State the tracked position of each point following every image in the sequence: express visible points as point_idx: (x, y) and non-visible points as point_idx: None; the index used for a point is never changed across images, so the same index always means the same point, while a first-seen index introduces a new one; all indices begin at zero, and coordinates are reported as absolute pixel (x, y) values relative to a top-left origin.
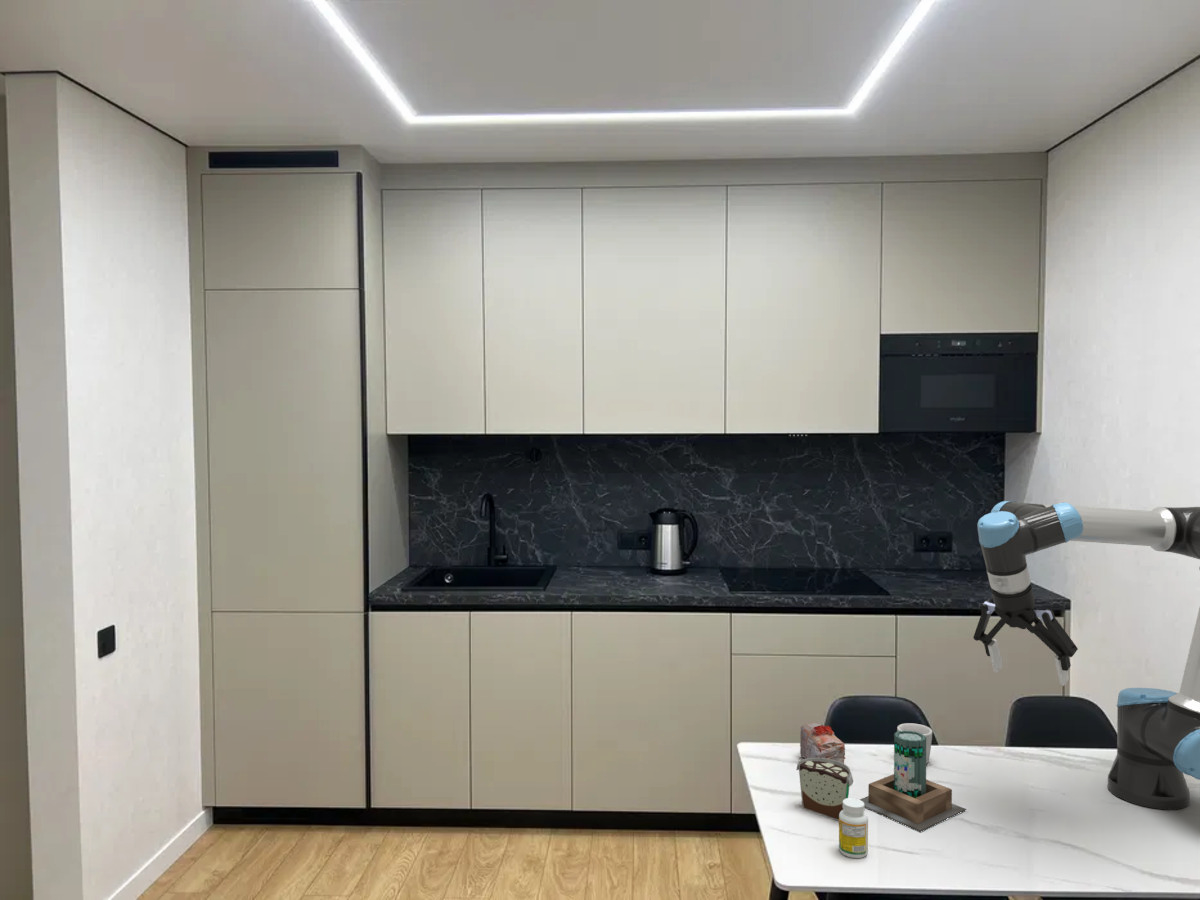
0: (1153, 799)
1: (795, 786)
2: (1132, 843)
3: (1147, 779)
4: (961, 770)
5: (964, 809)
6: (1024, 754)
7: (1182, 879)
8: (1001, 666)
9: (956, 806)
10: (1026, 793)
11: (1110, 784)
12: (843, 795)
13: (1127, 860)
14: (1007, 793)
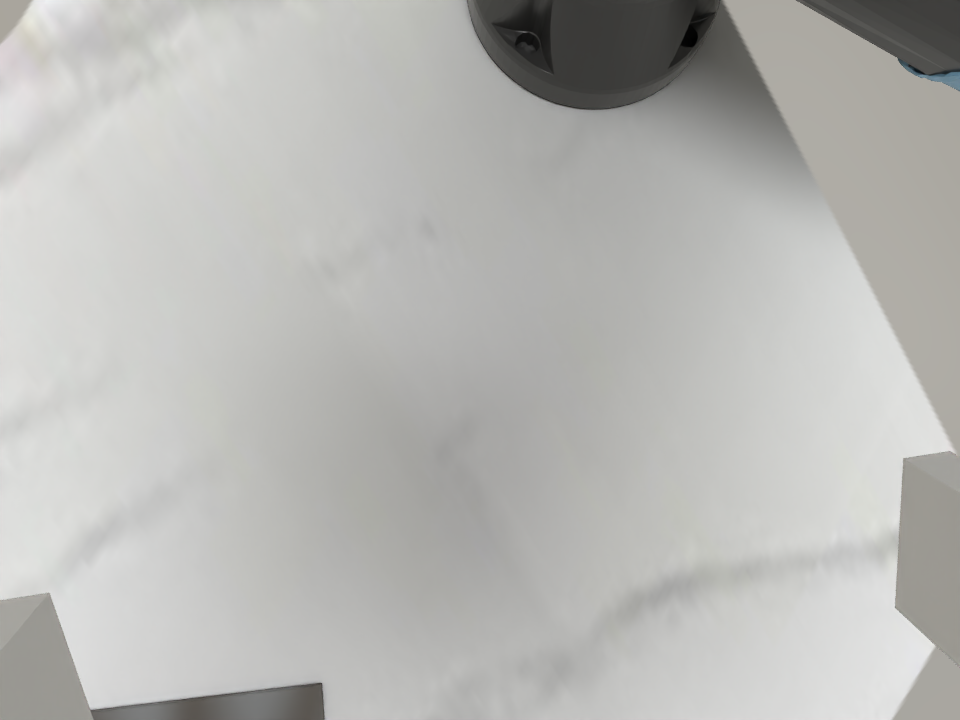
0: (670, 73)
1: None
2: (762, 397)
3: (667, 30)
4: (75, 370)
5: (320, 695)
6: (126, 8)
7: None
8: (55, 641)
9: (287, 700)
10: (353, 344)
11: (515, 65)
12: None
13: (817, 523)
14: (314, 406)
